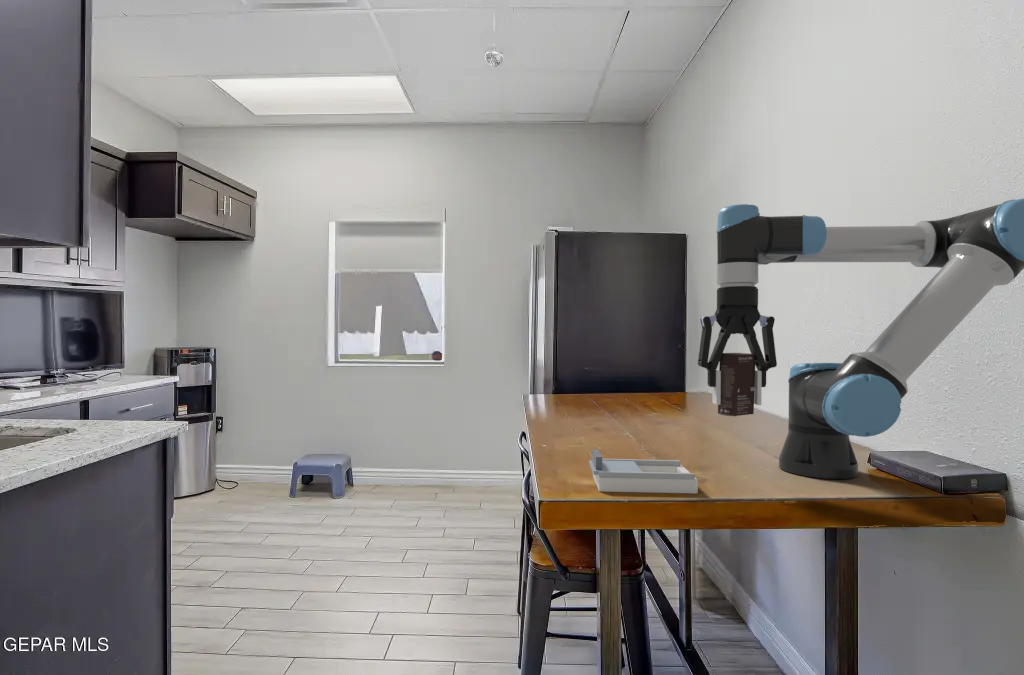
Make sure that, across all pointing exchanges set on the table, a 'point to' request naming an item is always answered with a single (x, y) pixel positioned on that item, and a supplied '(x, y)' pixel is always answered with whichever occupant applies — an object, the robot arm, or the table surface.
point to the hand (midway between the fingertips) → (736, 403)
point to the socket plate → (649, 478)
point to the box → (737, 384)
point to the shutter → (610, 464)
